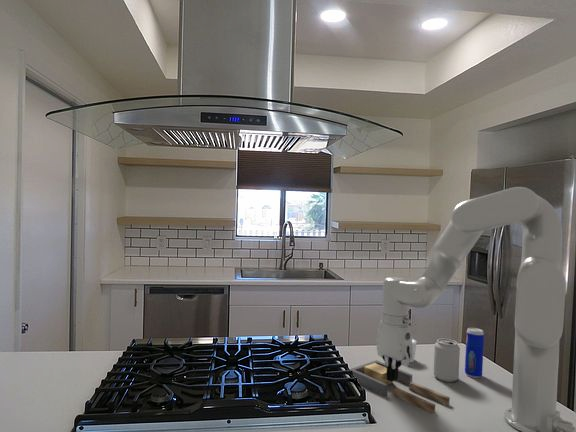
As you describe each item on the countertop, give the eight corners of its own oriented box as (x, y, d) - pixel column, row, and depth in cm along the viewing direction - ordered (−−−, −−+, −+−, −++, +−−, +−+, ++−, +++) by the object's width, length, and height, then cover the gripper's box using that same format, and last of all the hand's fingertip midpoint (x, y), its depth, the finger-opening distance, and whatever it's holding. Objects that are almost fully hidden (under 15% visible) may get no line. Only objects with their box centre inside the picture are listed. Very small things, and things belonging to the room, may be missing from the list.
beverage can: (461, 372, 132) (463, 327, 132) (473, 371, 134) (475, 326, 134) (472, 379, 127) (475, 332, 127) (485, 377, 129) (487, 331, 129)
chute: (449, 404, 110) (449, 397, 110) (432, 413, 104) (432, 405, 104) (411, 388, 119) (411, 381, 119) (394, 395, 114) (394, 388, 114)
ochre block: (392, 383, 123) (392, 370, 123) (381, 387, 119) (382, 374, 119) (374, 375, 128) (374, 363, 128) (363, 379, 125) (364, 366, 125)
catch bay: (412, 384, 122) (412, 374, 122) (384, 395, 113) (385, 385, 113) (376, 369, 132) (376, 360, 132) (348, 378, 124) (349, 369, 124)
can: (460, 384, 123) (462, 346, 123) (435, 381, 124) (436, 343, 124) (455, 374, 130) (457, 338, 130) (431, 372, 132) (433, 336, 132)
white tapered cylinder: (415, 357, 145) (415, 338, 145) (416, 364, 138) (417, 344, 138) (395, 354, 147) (396, 336, 147) (396, 361, 140) (397, 341, 140)
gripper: (423, 323, 116) (421, 386, 116) (382, 311, 127) (379, 368, 128) (408, 327, 111) (405, 392, 111) (366, 315, 123) (364, 374, 123)
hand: (392, 379), depth 120 cm, fingers closed
